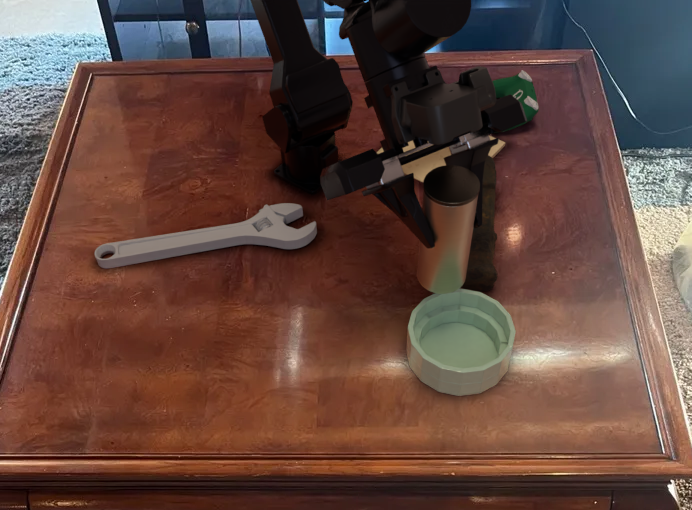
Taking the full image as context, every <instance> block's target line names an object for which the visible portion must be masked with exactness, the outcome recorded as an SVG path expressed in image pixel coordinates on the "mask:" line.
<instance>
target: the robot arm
mask: <svg viewBox="0 0 692 510" xmlns="http://www.w3.org/2000/svg"><path fill="white" fill-rule="evenodd" d="M322 1H323V2H324V4H326V5H327V6H329V7H334V6H335V7H338V8H341V9H342V10H343V17H342V20H341V23H340V24H339V28H338V37H339V39H340V40H347V39H348V41H349V44H350V47H351V50H352V53H353V55H354V58H355V61H356V64H357V67H358V69H359V72H360V74H361V77H362V81H363V82H364V85H365V88H366V91H367V94H368V95H367V96H365V97H363V98H364V101H365V105H366V108H367V109H371V108H373V110H374V113H375V115H376V118H377V121H378V125H379V127H380V129H381V132H382V134H383V138H384V139H382V140H380V141H379V143H380V146H381V148H383V151H384V152H382V153H379V154H377V151H375V148H370V149H368V150H365V151H363V152H361V153H358V154H355V155H352V156H350V157H348V158H345V159H341V160H340V159H339V146H338V145H336V132H337V131H339V130H345V129H347V128H348V123H349V121H350V117H351V113H352V110H353V99H352V95H351V94H352V93H351V92H350V89H349V88H348V86H347V85H346V83H345V81H344V79H343V76H342V71H341V68H340V63H338V62H337V61H336V59H335V58H333V57H330V58H327V57H326V56H324V55H323V54H322V53H321V52H320V51H319V50H318V49H317V48H315V46H314V43H313V41H312V38H311V37H312V36H311V35H310V32H309V29H308V27H307V23H306V21H305V18H304V14H303V12H302V10H301V6H300V4H299V0H250V3H251V6H252V8H253V9H252V10H253V11H254V14H255V17H256V19H257V22H258V26H259V27H260V31H261V33H262V36H263V39H264V42H265V45H266V47H267V50H268V52H269V55H270V58H271V60H272V63H273V65H272V66H273V67H272V72H271V78H270V85H269V91H268V92H269V93H268V94H269V96H270V100H271V103H272V108H271V109H270V110H268V111H267V112H266V113H264V114H263V115H262V116H261V119H262V122H263V126H264V129H265V133H266V134H267V135H268V137H269V138H270V139H271V140H272V141H273V142H274V144H276V146H277V147H278V148H279V150H280V158H281V164H280V165H278V166H277V167H276V168H275V169H274V170H273V175H274V177H277V178H278V179H281V180H283V181H284V182H287V183H288V184H290V185H292V186H294V187H296V188H298V189H299V190H302V191H304V192H305V193H308V194H310V195H315V194H317V193H318V192H319V191H320V190H321V189H322V192H323V193H324V197H325V199H326V201H327V202H328V201H330V200H335V199H337V198H340V197H343V196H346V195H349V194H352V193H354V192H357V191H359V190H361V195H362V196H363V197H367V196H370V195H372V196H373V197H375V198H376V199H377V200H378V201H379V202H380V203H382V204H383V206H385V207H386V208H388V209H389V210H390V211H391V212H392V213H393V214H394V215H395V216H396V217H397V218H398V219H399V220H400V221H401V222H402V223H403V224H404V226H406V227H407V229H408V230H409V231H410V232H411V233H412V234H413V235H414V236H415V238H417V239H418V241H419V240H420V241H421V242H422V243H423V245H424V246H425V247H426V248H428V249H430V248H433V247H435V243H434V240H433V236H432V233H431V230H430V227H429V225H428V222H427V220H426V218H425V215H424V213H423V210H422V205H421V204H420V201H419V199H418V196H417V193H416V191H415V179H414V174H413V173H411V174H407V175H406V174H404V172H403V169H402V165H405V164H407V163H410V162H412V161H415V160H417V159H420V158H422V157H424V156H427V155H429V154H432V153H434V152H437V151H439V150H442V149H444V148H447V147H449V150H450V152H451V155H449V156H447V157H444V161H445V163H446V165H455V166H461V167H464V168H466V169H468V170H470V171H472V172H473V173H474V174H475V175H476V176H477V177H478V179H479V182H480V190H479V194H478V200H477V206H476V213H475V220H474V226H473V227H474V228H479V227H481V226H482V209H483V174H484V165H485V161H486V159H487V156H488V154H489V152H490V149H491V148H492V147H493V146H494V145H497V144H498V141H499V140H500V139H499V138H500V137H495V138H496V139H493V140H490V137H489V136H491V135H493V134H496V133H495V132H498V133H503V132H502V131H504V130H507V129H509V128H512V127H514V126H516V125H519V124H521V123H524V122H526V121H527V118H526V115H525V112H524V109H523V106H522V103H520V102H519V101H518V100H517V99H516V98H515V97H513V96H512V95H511V94H510V95H507V96H505V97H502V98H496V93H495V87H494V84H493V82H492V81H493V79H492V77H491V74H490V72H489V69H488V67H486V66H481V65H478V66H475V67H472V68H469V69H467V70H464V71H461V72H460V73H459V76H458V80H456V81H453V82H451V83H447V82H446V81H445V80H444V78H443V76H442V72H441V70H439V69H438V66H437V65H433V66H429V63H428V60H427V57H426V54H425V53H427V52H428V51H430V50H432V49H434V48H435V47H436V46H438V45H440V44H441V43H443V42H444V41H447V39H449V38H451V37H453V36H454V35H456V34H457V33H458V32H460V31H461V30H463V28H464V26H465V25H466V24H467V23H468V20H469V18H470V15H471V11H472V0H322ZM504 132H505V131H504ZM412 140H413V142H414V145H415V148H413V149H411V150H408V151H406V152H404V151H403V148H404V147H406V146H409V144H408V142H410V141H412ZM431 145H432V146H431ZM428 146H429V147H428ZM426 147H427V148H426ZM423 148H424V149H423ZM421 149H422V150H421ZM418 150H419V151H418ZM416 151H417V152H416ZM413 152H414V153H413ZM411 153H412V154H411ZM408 154H409V155H408ZM406 155H407V156H406ZM364 188H366V189H364ZM362 189H364V190H362Z"/></svg>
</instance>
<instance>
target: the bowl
mask: <svg viewBox="0 0 692 510" xmlns="http://www.w3.org/2000/svg"><path fill="white" fill-rule="evenodd" d="M407 324H408V325H407V331H406V332H407V333H406V350H405V353H406V356H407V361H408V365H409V368H410V369H411V371H412V372H413V374H414V375H415V376H416V377H417V378H418V379H419V381H420V382H421V383H422V384H425V385H426V386H428V387H430V388H431V389H433V390H435V391H436V392H438V393H441V394H445V395H446V394H447V395H452V396H456V397H462V396H463V397H464V396H470V395H471V396H472V395H478V394H482V393H484V392H485V391H487V390H490V389H491V388H493V387H496V386H497V385H498V384H499V382H500V381H501V380H502V378H503V377H504V376H505V375H506V373H507V372H508V370H509V366H510V360H511V358H512V353H513V349H514V343H515V337H516V332H517V331H516V327H515V324H514V321H513V318H512V315H511V314H510V313H509V311H507V309H506V308H505V307H504V306H503V305H502V304H501V302H499V301H498V300H497V299H495V298H493V297H491V296H488V295H487V294H485V293H483V292H482V291H477V290H470V289H463V288H459V289H458V290H456V291H454V292H451V293H447V294H438V293H432V294H431V295H429V296H427V297H425V298H423V299H422V300H421V301H420V302H419V303H418V304H417V306H416V307H415V308H414V309H413V310H412V311H411V313H410V317H409V321H408V323H407Z"/></svg>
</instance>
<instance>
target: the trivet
mask: <svg viewBox="0 0 692 510" xmlns="http://www.w3.org/2000/svg"><path fill="white" fill-rule="evenodd" d="M489 137H490V140H493V139H496V138H497V137H495V136H492V135H489ZM408 144H409V146H406V147H404V148H403V151H404V152H406V151H408V150H411V149H413V148H415V145H414V142H413V140H412V141H410V142H408ZM431 146H432V145H431ZM505 146H506V141H503V140H500V139H499V141H498V144H497V145H494V146H493V147H492V148H491V149H490V152H489V154H488V155H489V156H490V157H492V158H493V159H494V158H495V157H496V155H498V154H499V153H500V152H501V151H502V150H503V149H504V147H505ZM428 147H429V146H428ZM426 148H427V147H426ZM423 149H424V148H423ZM421 150H422V149H421ZM418 151H419V150H418ZM382 152H384V151H383V148H382V147H381V148H380V149H378V151H376V153H377V154H379V153H382ZM416 152H417V151H416ZM413 153H414V152H413ZM411 154H412V153H411ZM408 155H409V154H408ZM449 155H451V152H450V150H449V147H447V148H444V149H442V150H439V151H437V152H434V153H432V154H429V155H427V156H424V157H422V158H420V159H417V160H415V161H412V162H410V163H407V164H405V165H402V169H403V172H404V175H407V174H411V173H413V174H414V180H416V181H418V182H420V183H422V184H423V181H424V178H425V176H426V175H427V174H428V173H429V172H430V171H431V170H433V169H435V168H437V167H440V166H445V165H446V163H445V161H444V157H447V156H449ZM406 156H407V155H406Z"/></svg>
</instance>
